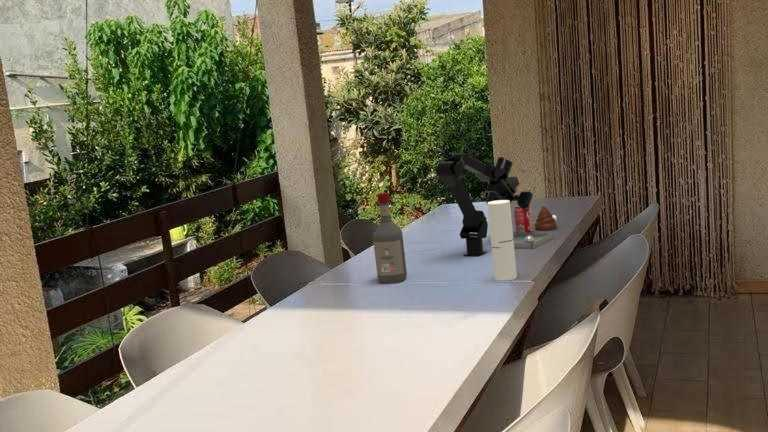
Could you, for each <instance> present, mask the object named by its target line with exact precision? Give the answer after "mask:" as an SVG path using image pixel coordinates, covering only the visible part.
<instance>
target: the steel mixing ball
mask: <svg viewBox="0 0 768 432" xmlns="http://www.w3.org/2000/svg"><path fill="white" fill-rule="evenodd" d="M524 241H525V243H533V242H534V238H533V237H532V236H530V235H528V236H526V237H525V239H524Z"/></svg>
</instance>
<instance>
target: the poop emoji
mask: <svg viewBox="0 0 768 432" xmlns="http://www.w3.org/2000/svg"><path fill="white" fill-rule="evenodd" d="M540 208H541V209H540V211H539V213H538V214H537V218H536V219H535V223H534V224H533V228H534V229H535V230H540V231H543V232H549V231H552V230H556V229H557V228H558V224H557V222H556V221H557V219H558V218H557V217H558V216H557V215H555V214H552V213H551V212H550V211H549V209H548V208H547V207H546V206H544V205H543V206H541V207H540Z"/></svg>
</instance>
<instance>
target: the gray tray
mask: <svg viewBox="0 0 768 432" xmlns="http://www.w3.org/2000/svg"><path fill="white" fill-rule="evenodd" d="M554 234H555V233H554V232H533V233H521V232H516V231H515V232H514V233H513V241H514V249H525V250H527V249H529V250H533V249H535V248H538V247H539V246H541V245H543V244H545V243H547V242H549V241H551V240H553V239H555V235H554ZM528 235H530V236H532V237H533V238H534V242H533V243H525V241H524V239H525V237H526V236H528Z"/></svg>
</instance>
